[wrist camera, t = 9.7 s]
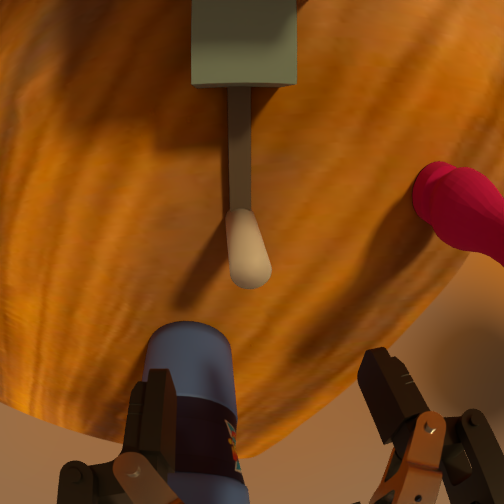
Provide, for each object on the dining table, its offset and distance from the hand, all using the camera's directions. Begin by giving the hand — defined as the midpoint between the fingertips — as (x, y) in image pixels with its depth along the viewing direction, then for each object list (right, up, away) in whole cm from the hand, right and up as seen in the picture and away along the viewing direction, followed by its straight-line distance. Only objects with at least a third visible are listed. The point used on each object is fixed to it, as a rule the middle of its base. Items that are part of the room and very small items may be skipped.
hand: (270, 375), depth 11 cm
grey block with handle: (-2, +14, +10) cm, 17 cm away
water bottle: (-7, -6, +20) cm, 22 cm away
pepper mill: (+17, +11, +14) cm, 25 cm away
